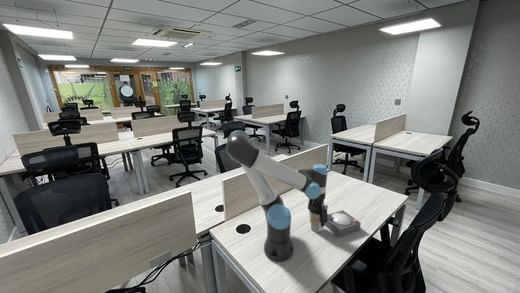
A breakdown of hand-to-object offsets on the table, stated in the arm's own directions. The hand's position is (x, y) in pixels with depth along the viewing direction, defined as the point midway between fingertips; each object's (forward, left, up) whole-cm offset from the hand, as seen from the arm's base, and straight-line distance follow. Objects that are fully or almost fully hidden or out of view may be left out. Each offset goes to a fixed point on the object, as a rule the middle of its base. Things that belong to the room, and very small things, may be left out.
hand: (316, 225), depth 121 cm
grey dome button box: (+15, -4, -2) cm, 16 cm away
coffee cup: (0, 0, -2) cm, 2 cm away
